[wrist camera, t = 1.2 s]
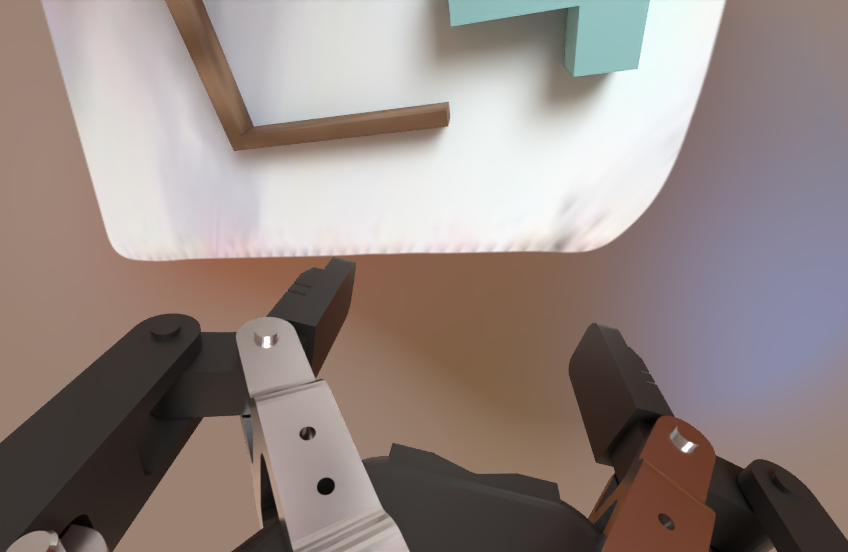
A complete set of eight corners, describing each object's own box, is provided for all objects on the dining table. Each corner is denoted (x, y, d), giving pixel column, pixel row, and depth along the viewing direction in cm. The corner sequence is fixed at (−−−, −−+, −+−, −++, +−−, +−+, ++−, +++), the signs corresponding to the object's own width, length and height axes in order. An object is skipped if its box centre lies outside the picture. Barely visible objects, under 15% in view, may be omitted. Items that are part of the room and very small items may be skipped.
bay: (135, -121, 25) (106, -129, 23) (418, -200, 22) (412, -217, 20) (247, 141, 36) (234, 150, 34) (450, 117, 32) (448, 126, 30)
